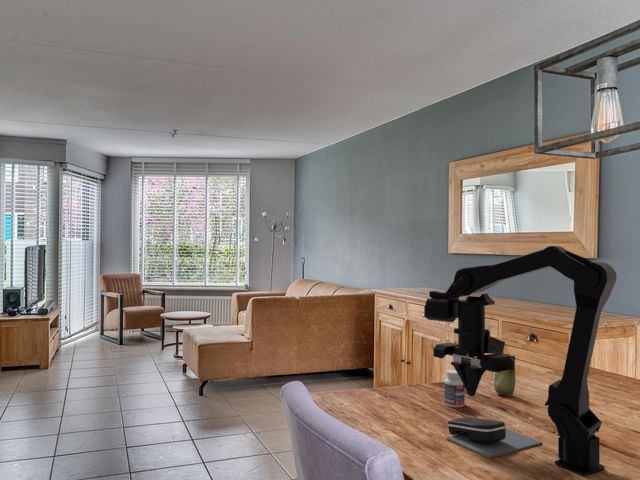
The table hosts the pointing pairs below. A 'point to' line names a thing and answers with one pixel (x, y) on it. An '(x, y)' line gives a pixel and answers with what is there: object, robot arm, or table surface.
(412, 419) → the table surface
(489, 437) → the battery charger
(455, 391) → the pill bottle
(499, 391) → the fennel bulb
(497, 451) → the gray mat
